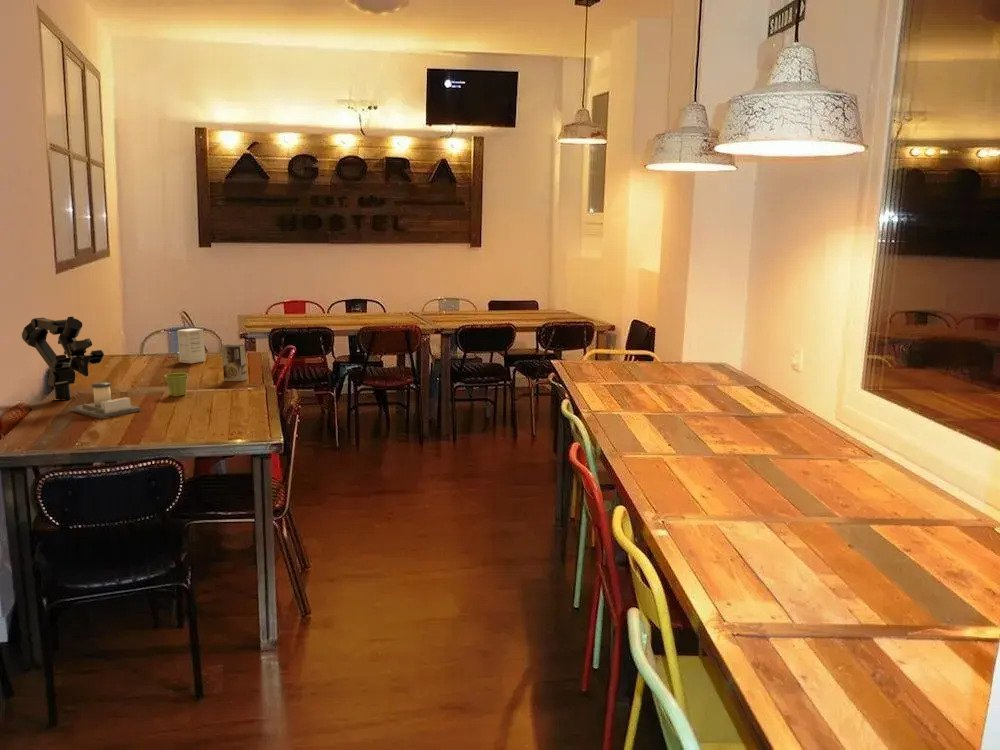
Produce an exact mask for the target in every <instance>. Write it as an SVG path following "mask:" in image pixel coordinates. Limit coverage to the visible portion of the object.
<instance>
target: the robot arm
mask: <svg viewBox="0 0 1000 750" xmlns="http://www.w3.org/2000/svg"><path fill="white" fill-rule="evenodd" d="M82 327H83V322H82V321H81V320H79V319H78V318H75V317H74V316H68V317H67V319H66V318H65V319H58V320H55V319H50V318H46V317H34V318H32V319H31V321H30V322H29V323H28V324H27V325H26V326H25V327H24V328H23V330H22V332H21V339H22V340H23V342H25V343H26V344H27V345H28V346H30V347H31V348H32V347H33V348H34V349H36V350H37V353H38V354H39V355H40V356H41V358H42V359H43V360H44V362H45V364H46V365H47V366H48V367H49V369H50V371H49V376H48V378H47V379H46V381H47V384H48V386H50V387H53V389H54V390H53V391H54V398H56V399H70V398H71V399H73V398H74V395H71V389H70V388H71V387H70V386H71V384H75V382H76V372H77V373H79V374H80V375H82V376H84V377H88V376H89V368H88V367H89V364H92V365H95V364H100V363H101V362H102V360H103V358H104V356H105V353H104V351H103V350H102V349H96V350H91V351H90V354H86V353H87V349H89V348H90V347H92V346H93V343H92V340H91V339H90V338H89V337H88V338H84V339H82V340H80V339H79V340H77V337H79V335H80V332H81V330H82ZM49 333H50V334H51V335H53V336H57V335H59V336H58V337H57V338H58V339H57V344H58V345H61V346H62V348H63V350H64V351H63V354H58V355H57V353H56V352H55V351H54V349H53V348H52V347H51V345H50V344H49V343H48V342H47V337H48V334H49ZM72 397H73V398H72ZM71 399H70V400H71Z"/></svg>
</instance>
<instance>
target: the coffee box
mask: <svg viewBox="0 0 1000 750" xmlns="http://www.w3.org/2000/svg"><path fill="white" fill-rule="evenodd" d="M220 348H221V355H222V356H221V357H222V369H223V370H222V371H223V381H224V382H244V381H246V380H248V369H247V368H248V366H247V353H246V352H247V351H246V344H225V345H223V346H221V347H220Z"/></svg>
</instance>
